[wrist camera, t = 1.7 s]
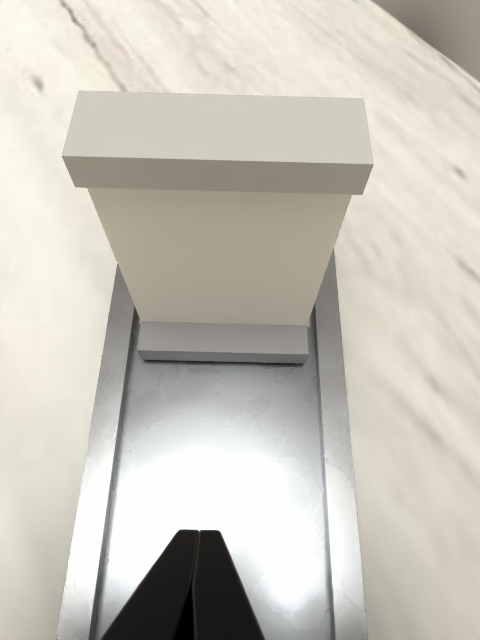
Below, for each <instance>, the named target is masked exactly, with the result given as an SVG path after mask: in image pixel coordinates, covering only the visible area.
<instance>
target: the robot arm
mask: <svg viewBox="0 0 480 640" xmlns="http://www.w3.org/2000/svg"><path fill="white" fill-rule="evenodd" d="M99 640H266V639H265V637H264V634H263V632H262V629H261V627H260V625H259V622H258V620H257V617H256V615H255V613H254V610H253V608H252V605H251V603H250V601H249V598H248V596H247V593H246V591H245V589H244V586H243V584H242V581H241V579H240V577H239V574H238V572H237V569H236V567H235V565H234V562H233V560H232V557H231V555H230V553H229V550H228V548H227V545H226V543H225V541H224V538H223V536H222V534H221V532H220V531H219V530H200V531H199V530H196V529H180V530H178V531H177V532H176V534H175V535H174V536H173V538H172V539H171V540H170V542H169V543H168V545H167V546H166V547H165V549H164V550H163V552H162V553H161V554H160V556H159V557H158V559H157V560H156V561H155V563H154V564H153V566H152V567H151V568H150V570H149V571H148V573H147V574H146V575H145V577H144V578H143V579H142V581H141V582H140V584H139V585H138V586H137V588H136V589H135V591H134V592H133V593H132V595H131V596H130V598H129V599H128V600H127V602H126V603H125V605H124V606H123V607H122V609H121V610H120V612H119V613H118V614H117V616H116V617H115V618H114V620H113V621H112V623H111V624H110V625H109V627H108V628H107V630H106V631H105V632H104V634H103V635H102V637H101V638H100V639H99Z"/></svg>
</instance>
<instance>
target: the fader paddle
mask: <svg viewBox="0 0 480 640" xmlns="http://www.w3.org/2000/svg"><path fill="white" fill-rule="evenodd" d="M62 158H63V160H64V162H65V165H66V167H67V169H68V171H69V174H70V176H71V178H72V181H73V183H74V185H75V187H85V188H88V191H89V193H90V196H91V198H92V201H93V203H94V206H95V208H96V211H97V213H98V216H99V218H100V221H101V223H102V226H103V228H104V231H105V233H106V236H107V238H108V241H109V243H110V246H111V248H112V251H113V253H114V256H115V258H116V260H117V263H118V265H119V268H120V270H121V273H122V275H123V278H124V280H125V283H126V285H127V288H128V290H129V293H130V295H131V298H132V300H133V303H134V305H135V308H136V310H137V313H138V315H139V318H140V320H141V325H140V333H139V341H138V349H137V351H138V353H139V355H140V357H141V359H142V360H179V361H220V362H262V363H303V364H305V362H306V359H307V357H308V336H307V324H308V321H309V318H310V315H311V312H312V309H313V306H314V303H315V301H316V298H317V295H318V292H319V289H320V286H321V283H322V280H323V277H324V274H325V271H326V268H327V265H328V263H329V260H330V257H331V254H332V251H333V248H334V245H335V242H336V239H337V236H338V233H339V230H340V228H341V225H342V222H343V219H344V216H345V213H346V210H347V207H348V204H349V201H350V198H351V195H362V194H363V191H364V189H365V186H366V183H367V180H368V178H369V175H370V172H371V170H372V167H373V157H372V150H371V144H370V137H369V130H368V123H367V117H366V110H365V103H364V99H360V98H324V97H288V96H252V95H216V94H180V93H145V92H109V91H78V95H77V99H76V103H75V107H74V111H73V114H72V118H71V122H70V126H69V130H68V134H67V137H66V141H65V145H64V149H63V153H62Z"/></svg>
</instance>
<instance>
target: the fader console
mask: <svg viewBox="0 0 480 640" xmlns="http://www.w3.org/2000/svg"><path fill="white" fill-rule="evenodd" d="M140 325H141V320H140V318H139V315H138V313H137V310H136V308H135V305H134V303H133V300H132V298H131V295H130V293H129V290H128V288H127V285H126V283H125V280H124V278H123V275H122V273H121V270H120V268H119V265H118V263H117V269H116V275H115V282H114V288H113V294H112V300H111V306H110V312H109V318H108V324H107V330H106V336H105V342H104V349H103V355H102V361H101V367H100V373H99V379H98V385H97V391H96V397H95V403H94V409H93V416H92V422H91V428H90V434H89V440H88V446H87V452H86V458H85V464H84V470H83V477H82V483H81V489H80V495H79V501H78V507H77V513H76V519H75V525H74V531H73V537H72V544H71V550H70V556H69V562H68V568H67V574H66V580H65V586H64V592H63V598H62V604H61V611H60V617H59V623H58V629H57V635H56V640H99V639H100V638H101V637H102V635H103V634H104V632H105V631H106V630H107V628H108V627H109V625H110V624H111V623H112V621H113V620H114V618H115V617H116V616H117V614H118V613H119V612H120V610H121V609H122V607H123V606H124V605H125V603H126V602H127V600H128V599H129V598H130V596H131V595H132V593H133V592H134V591H135V589H136V588H137V586H138V585H139V584H140V582H141V581H142V579H143V578H144V577H145V575H146V574H147V573H148V571H149V570H150V568H151V567H152V566H153V564H154V563H155V561H156V560H157V559H158V557H159V556H160V554H161V553H162V552H163V550H164V549H165V547H166V546H167V545H168V543H169V542H170V540H171V539H172V538H173V536H174V535H175V534H176V532H177V531H178V530H180V529H196V530H199V531H200V530H219V531H220V532H221V534H222V536H223V538H224V541H225V543H226V545H227V548H228V550H229V553H230V555H231V557H232V560H233V562H234V565H235V567H236V569H237V572H238V574H239V577H240V579H241V581H242V584H243V586H244V589H245V591H246V593H247V596H248V598H249V601H250V603H251V605H252V608H253V610H254V613H255V615H256V617H257V620H258V622H259V625H260V627H261V629H262V632H263V634H264V637H265V639H266V640H368V637H367V625H366V614H365V602H364V591H363V579H362V568H361V556H360V545H359V533H358V522H357V510H356V499H355V487H354V475H353V464H352V452H351V441H350V429H349V418H348V406H347V395H346V383H345V372H344V360H343V349H342V337H341V325H340V314H339V302H338V291H337V279H336V268H335V256H334V248H333V251H332V254H331V257H330V260H329V263H328V265H327V268H326V271H325V274H324V277H323V280H322V283H321V286H320V289H319V292H318V295H317V298H316V301H315V303H314V306H313V309H312V312H311V315H310V318H309V321H308V324H307V336H308V357H307V359H306V362H305V364H303V363H262V362H220V361H179V360H142V359H141V357H140V355H139V353H138V351H137V349H138V341H139V333H140Z"/></svg>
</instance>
